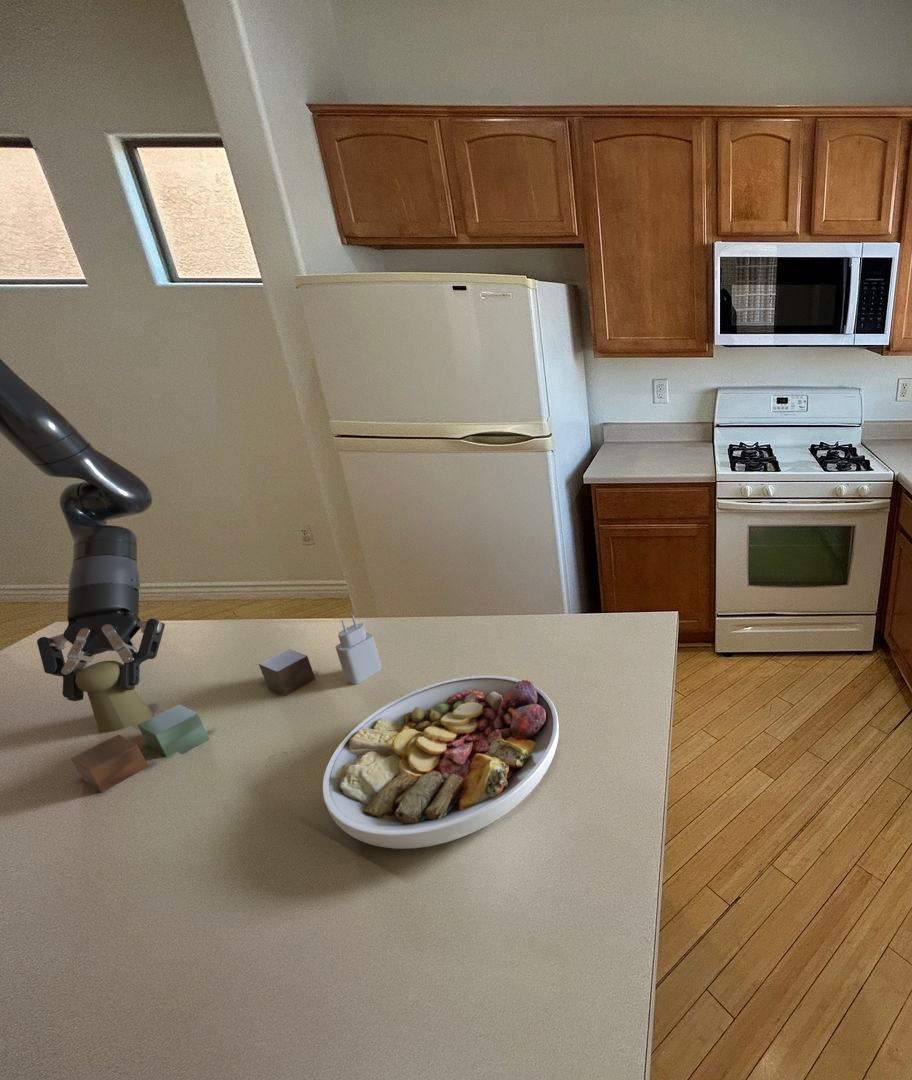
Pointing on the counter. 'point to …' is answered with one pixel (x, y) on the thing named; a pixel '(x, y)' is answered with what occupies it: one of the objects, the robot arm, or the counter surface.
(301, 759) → the counter surface
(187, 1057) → the counter surface
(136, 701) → the cork
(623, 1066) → the counter surface
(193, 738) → the block row
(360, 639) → the power adapter
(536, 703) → the bowl
